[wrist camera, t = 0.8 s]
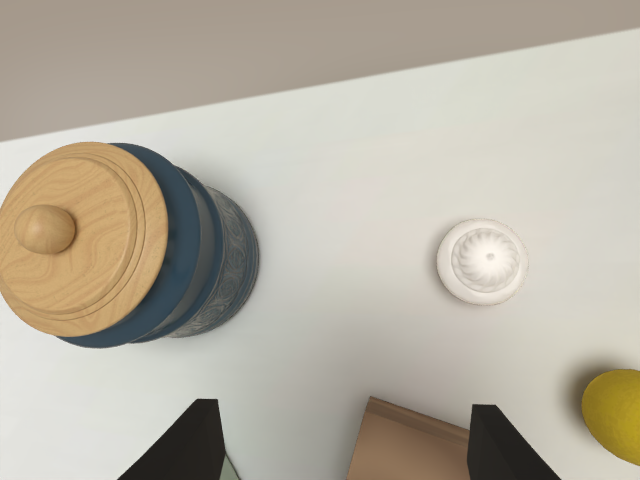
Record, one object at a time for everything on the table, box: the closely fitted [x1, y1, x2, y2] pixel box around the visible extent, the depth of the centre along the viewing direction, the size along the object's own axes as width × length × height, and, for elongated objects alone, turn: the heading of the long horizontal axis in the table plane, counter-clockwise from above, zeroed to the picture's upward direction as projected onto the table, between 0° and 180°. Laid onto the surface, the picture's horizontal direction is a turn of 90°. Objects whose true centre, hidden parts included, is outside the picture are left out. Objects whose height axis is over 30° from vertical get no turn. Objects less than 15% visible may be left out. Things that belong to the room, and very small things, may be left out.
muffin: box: [437, 219, 529, 305], centre depth 31 cm, size 6×6×7 cm
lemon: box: [582, 369, 640, 466], centre depth 27 cm, size 6×6×8 cm
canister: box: [0, 142, 259, 349], centre depth 30 cm, size 13×13×18 cm
